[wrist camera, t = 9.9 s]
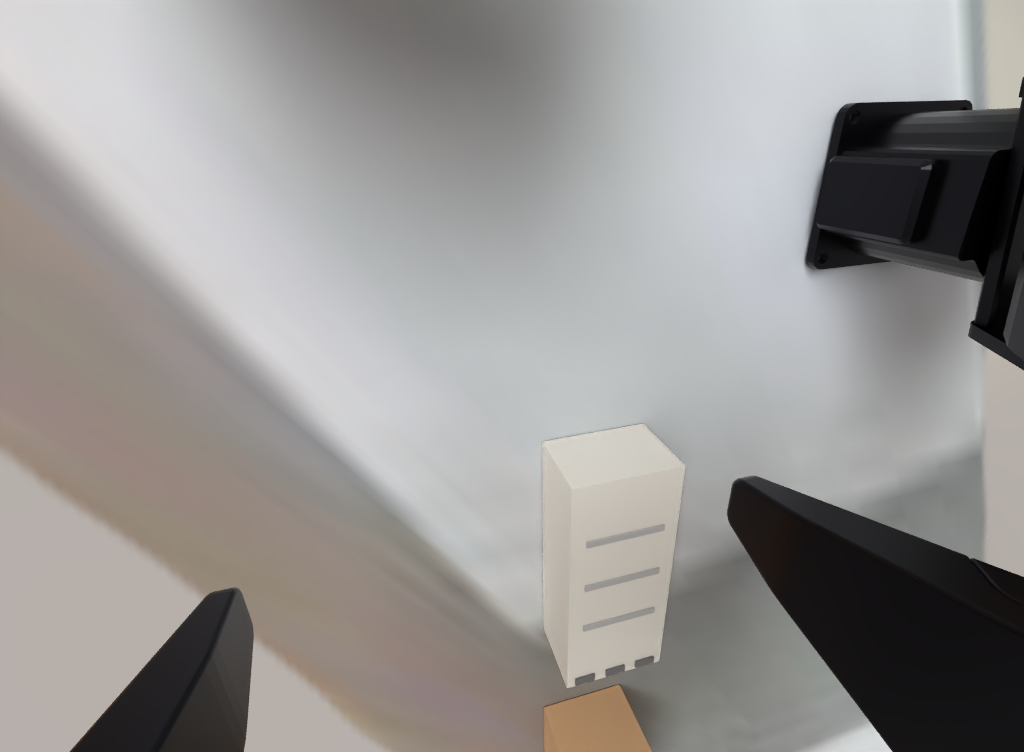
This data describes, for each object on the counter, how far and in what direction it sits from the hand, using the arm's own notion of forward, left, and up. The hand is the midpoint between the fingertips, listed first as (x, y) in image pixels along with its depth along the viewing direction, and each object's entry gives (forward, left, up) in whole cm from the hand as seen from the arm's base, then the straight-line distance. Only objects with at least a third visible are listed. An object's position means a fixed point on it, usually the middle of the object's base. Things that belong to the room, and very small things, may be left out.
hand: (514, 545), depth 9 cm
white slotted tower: (-7, +12, -12) cm, 18 cm away
